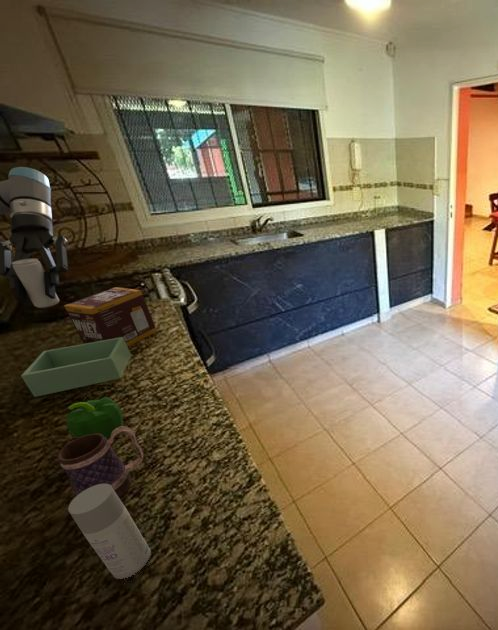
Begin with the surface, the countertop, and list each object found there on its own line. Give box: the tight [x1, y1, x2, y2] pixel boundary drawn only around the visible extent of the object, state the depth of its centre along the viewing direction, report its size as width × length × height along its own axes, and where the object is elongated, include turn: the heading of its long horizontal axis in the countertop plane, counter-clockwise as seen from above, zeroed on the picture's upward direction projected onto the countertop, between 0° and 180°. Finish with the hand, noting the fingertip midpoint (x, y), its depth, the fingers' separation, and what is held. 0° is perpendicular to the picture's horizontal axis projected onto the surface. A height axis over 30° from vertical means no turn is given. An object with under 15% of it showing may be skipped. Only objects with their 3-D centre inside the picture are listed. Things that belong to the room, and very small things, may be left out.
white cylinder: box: [11, 257, 60, 309], centre depth 88 cm, size 5×5×12 cm
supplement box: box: [63, 286, 158, 348], centre depth 108 cm, size 10×15×16 cm
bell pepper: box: [66, 396, 124, 440], centre depth 73 cm, size 8×8×10 cm
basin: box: [21, 337, 132, 398], centre depth 93 cm, size 18×13×7 cm
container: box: [67, 484, 152, 580], centre depth 49 cm, size 5×5×15 cm
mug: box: [57, 425, 144, 499], centre depth 61 cm, size 10×7×12 cm
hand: (35, 298), depth 86 cm, fingers closed on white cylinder, 5 cm apart
